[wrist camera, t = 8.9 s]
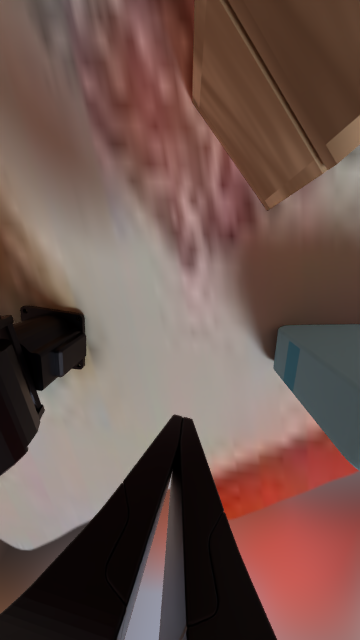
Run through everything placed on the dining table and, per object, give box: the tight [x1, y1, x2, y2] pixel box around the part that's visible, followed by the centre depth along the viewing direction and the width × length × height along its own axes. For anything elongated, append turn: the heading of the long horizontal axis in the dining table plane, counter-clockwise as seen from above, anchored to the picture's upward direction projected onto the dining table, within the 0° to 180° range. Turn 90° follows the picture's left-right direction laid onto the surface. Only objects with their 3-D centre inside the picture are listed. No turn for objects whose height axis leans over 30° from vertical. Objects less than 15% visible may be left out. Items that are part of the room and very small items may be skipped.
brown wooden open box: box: [192, 0, 327, 211], centre depth 11 cm, size 12×10×7 cm
